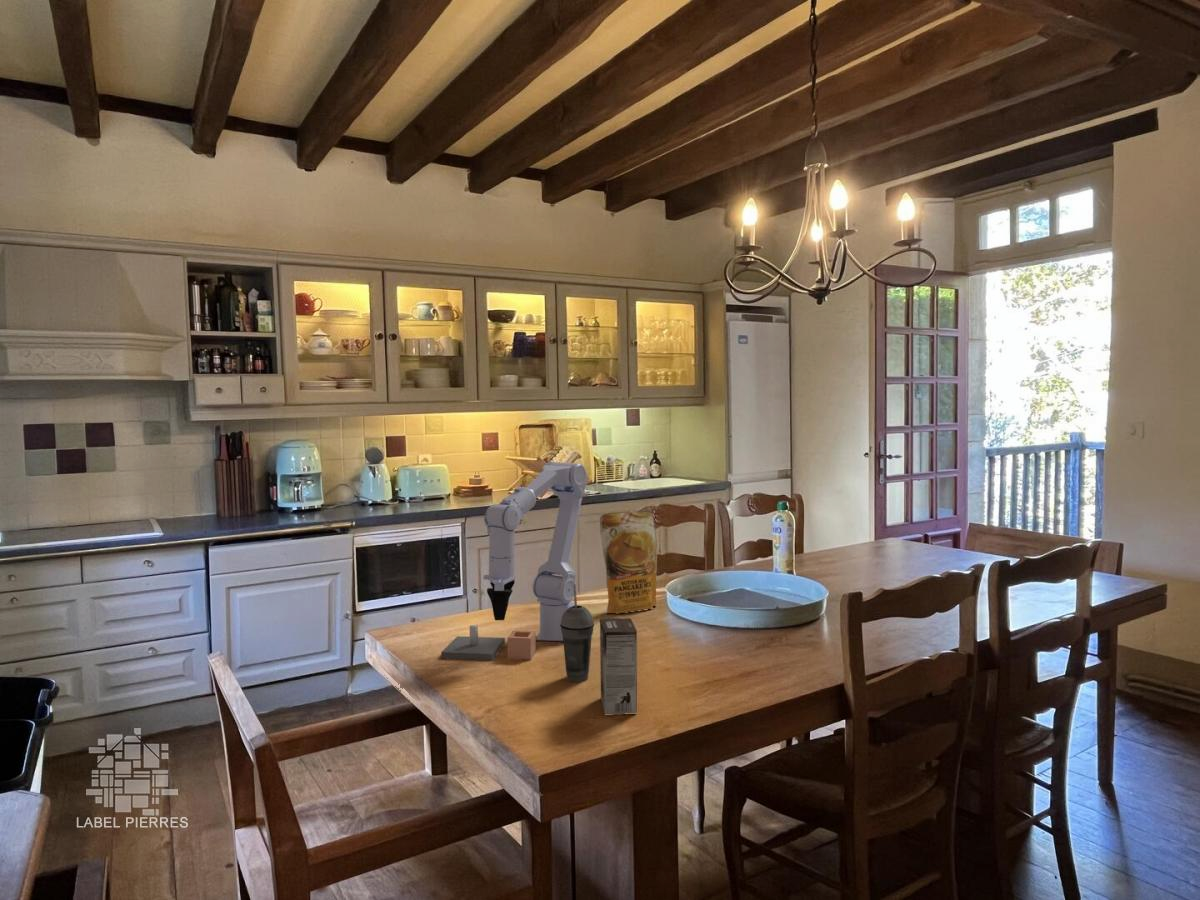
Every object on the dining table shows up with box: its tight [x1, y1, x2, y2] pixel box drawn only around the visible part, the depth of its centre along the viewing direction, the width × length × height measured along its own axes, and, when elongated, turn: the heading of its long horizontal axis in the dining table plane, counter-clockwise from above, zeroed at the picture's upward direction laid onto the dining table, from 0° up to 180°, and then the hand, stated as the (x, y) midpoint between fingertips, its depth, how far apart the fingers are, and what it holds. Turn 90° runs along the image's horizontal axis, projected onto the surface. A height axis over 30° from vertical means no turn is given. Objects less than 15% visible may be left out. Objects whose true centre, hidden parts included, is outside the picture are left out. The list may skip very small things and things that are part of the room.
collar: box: [507, 630, 537, 661], centre depth 176 cm, size 5×5×5 cm
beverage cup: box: [560, 583, 595, 683], centre depth 161 cm, size 7×7×20 cm
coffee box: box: [599, 617, 638, 715], centre depth 146 cm, size 9×6×16 cm
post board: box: [441, 624, 506, 661], centre depth 179 cm, size 12×12×6 cm
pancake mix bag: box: [599, 510, 658, 615], centre depth 214 cm, size 7×19×28 cm, turn 117°
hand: (500, 615), depth 173 cm, fingers open, 7 cm apart
